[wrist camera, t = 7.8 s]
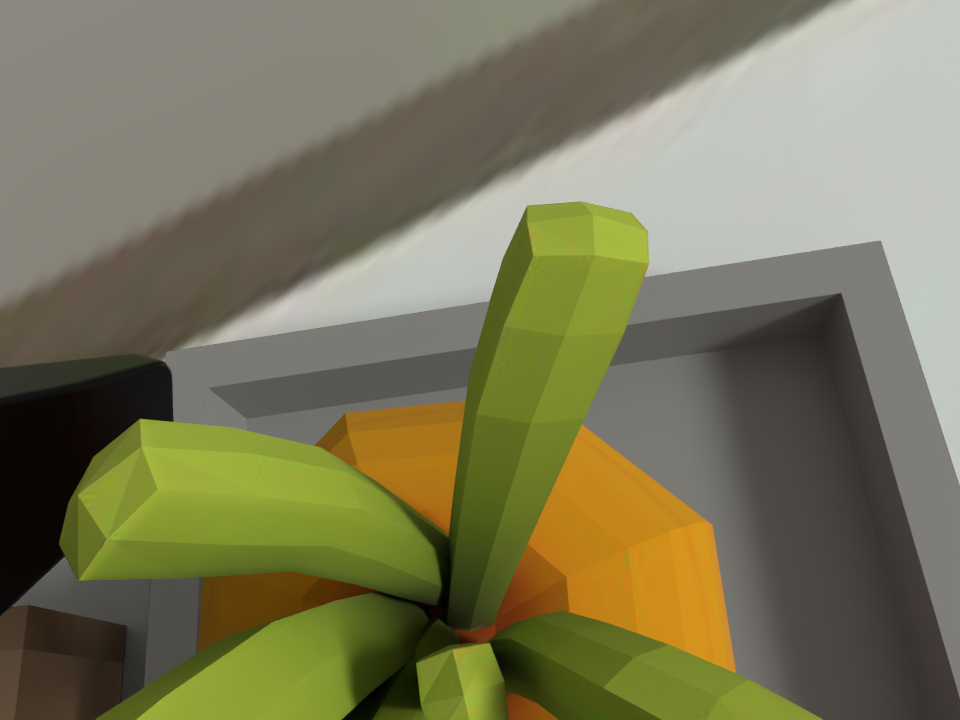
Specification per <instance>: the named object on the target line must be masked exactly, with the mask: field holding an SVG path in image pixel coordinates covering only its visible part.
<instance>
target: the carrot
mask: <svg viewBox="0 0 960 720" xmlns="http://www.w3.org/2000/svg"><path fill="white" fill-rule="evenodd" d="M648 265H649V251H648V231H647V230H646V229H645V228H644V226H643V225H642V224H641V223H640V222H639V221H638V220H637V219H636V217H635V216H634V215H633V214H632V213H629V212H625V211H620V210H616V209H611V208H607V207H603V206H598V205H594V204H589V203H585V202H570V203H556V204H543V205H529V206H527V208H526V210H525V212H524V214H523V216H522V218H521V221H520V223H519V225H518V227H517V229H516V232H515V234H514V236H513V238H512V240H511V242H510V245H509V247H508V249H507V251H506V253H505V255H504V258H503V260H502V263H501V266H500V270H499V273H498V276H497V279H496V283H495V286H494V289H493V292H492V296H491V299H490V303H489V306H488V310H487V313H486V317H485V320H484V324H483V327H482V331H481V335H480V338H479V342H478V345H477V349H476V352H475V356H474V359H473V363H472V366H471V370H470V373H469V379H468V387H467V394H466V401H456V402H446V403H436V404H427V405H417V406H407V407H397V408H387V409H378V410H368V411H358V412H348V413H345V414H344V415H343V416H342V417H341V418H340V419H339V420H338V421H337V422H336V423H335V424H334V425H333V426H332V427H331V429H330V430H329V431H328V432H327V433H326V434H325V435H324V436H323V437H322V438H321V439H320V440H319V441H318V442H317V443H316V444H315V446H312V445H308V444H304V443H299V442H295V441H290V440H286V439H281V438H277V437H273V436H268V435H264V434H259V433H255V432H251V431H246V430H242V429H237V428H233V427H223V426H212V425H201V424H191V423H180V422H169V421H158V420H147V419H139V420H138V421H137V422H135V423H134V424H133V425H132V426H131V427H129V428H128V429H127V430H126V431H124V432H123V433H122V434H121V435H120V436H118V437H117V438H116V439H115V440H114V441H112V442H111V443H110V444H109V445H107V446H106V447H105V448H104V449H103V450H101V451H100V452H99V453H98V454H97V455H95V456H94V457H93V459H92V461H91V463H90V464H89V466H88V468H87V470H86V472H85V473H84V475H83V477H82V479H81V481H80V483H79V484H78V486H77V488H76V490H75V492H74V493H73V495H72V497H71V499H70V501H69V503H68V507H67V511H66V516H65V520H64V524H63V528H62V533H61V537H60V541H59V545H60V547H61V549H62V551H63V553H64V555H65V556H66V558H67V560H68V562H69V564H70V566H71V568H72V569H73V571H74V573H75V575H76V577H77V579H78V581H87V580H132V579H177V578H199V577H203V587H202V600H201V614H200V628H199V642H198V653H197V654H195V655H193V656H192V657H190V658H189V659H187V660H186V661H184V662H183V663H181V664H180V665H178V666H176V667H175V668H173V669H172V670H170V671H169V672H167V673H166V674H164V675H163V676H161V677H160V678H158V679H156V680H155V681H153V682H152V683H150V684H149V685H147V686H146V687H144V688H143V689H141V690H139V691H138V692H136V693H135V694H133V695H132V696H130V697H129V698H127V699H126V700H124V701H122V702H121V703H119V704H118V705H116V706H115V707H113V708H112V709H110V710H109V711H107V712H106V713H104V714H102V715H101V716H99V717H98V718H97V719H96V720H822V718H820V717H818V716H816V715H814V714H812V713H811V712H809V711H807V710H805V709H803V708H801V707H800V706H798V705H796V704H794V703H792V702H790V701H789V700H787V699H785V698H783V697H781V696H779V695H778V694H776V693H774V692H772V691H770V690H768V689H767V688H765V687H763V686H761V685H759V684H757V683H756V682H754V681H752V680H750V679H748V678H746V677H743V676H741V675H739V674H736V669H735V662H734V656H733V650H732V644H731V637H730V631H729V625H728V619H727V612H726V606H725V600H724V594H723V587H722V581H721V575H720V569H719V562H718V556H717V550H716V544H715V537H714V531H713V525H712V524H711V523H710V522H708V521H707V520H706V519H705V518H703V517H702V516H701V515H699V514H698V513H697V512H695V511H694V510H693V509H692V508H690V507H689V506H688V505H686V504H685V503H684V502H683V501H681V500H680V499H679V498H677V497H676V496H675V495H673V494H672V493H671V492H670V491H668V490H667V489H666V488H664V487H663V486H662V485H660V484H659V483H658V482H657V481H655V480H654V479H653V478H651V477H650V476H649V475H647V474H646V473H645V472H644V471H642V470H641V469H640V468H638V467H637V466H636V465H635V464H633V463H632V462H631V461H629V460H628V459H627V458H625V457H624V456H623V455H622V454H620V453H619V452H618V451H616V450H615V449H614V448H612V447H611V446H610V445H609V444H607V443H606V442H605V441H603V440H602V439H601V438H599V437H598V436H597V435H596V434H594V433H593V432H592V431H590V430H589V429H588V428H587V427H585V426H584V425H583V424H582V423H583V421H584V419H585V416H586V414H587V412H588V410H589V408H590V406H591V403H592V401H593V399H594V397H595V395H596V393H597V391H598V388H599V386H600V384H601V382H602V380H603V378H604V375H605V373H606V371H607V369H608V367H609V365H610V363H611V360H612V358H613V356H614V354H615V352H616V350H617V348H618V345H619V343H620V341H621V339H622V337H623V335H624V332H625V329H626V327H627V324H628V321H629V318H630V315H631V313H632V310H633V307H634V304H635V301H636V299H637V296H638V293H639V290H640V287H641V284H642V282H643V279H644V276H645V273H646V270H647V268H648Z"/></svg>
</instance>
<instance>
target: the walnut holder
mask: <svg viewBox="0 0 960 720" xmlns="http://www.w3.org/2000/svg"><path fill="white" fill-rule="evenodd" d="M125 635H126V626H125V625H120V624H115V623H111V622H106V621H101V620H96V619H92V618H87V617H82V616H77V615H73V614H68V613H63V612H58V611H54V610H49V609H44V608H39V607H35V606H30V605H26V606H18V607H10V608H9V609H8V610H7V611H6V612H5V613H4V614H3V615H2V616H1V617H0V720H96V719H97V718H98V717H99V716H101V715H102V714H104V713H106V712H107V711H109V710H110V709H112V708H113V707H115V706H116V705H118V704H119V703H120V700H121V687H122V674H123V661H124V648H125Z"/></svg>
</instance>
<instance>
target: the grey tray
mask: <svg viewBox="0 0 960 720" xmlns="http://www.w3.org/2000/svg"><path fill="white" fill-rule="evenodd" d="M489 303H490V302H483V303H477V304H470V305H464V306H458V307H451V308H445V309H438V310H432V311H426V312H419V313H413V314H406V315H400V316H393V317H387V318H381V319H374V320H368V321H361V322H355V323H349V324H342V325H336V326H329V327H323V328H316V329H310V330H304V331H297V332H291V333H284V334H278V335H272V336H265V337H259V338H252V339H246V340H239V341H233V342H227V343H220V344H214V345H207V346H201V347H195V348H188V349H182V350H175V351H169V352H166V361H165V363H166V364H167V365H168V366H169V368H170V370H171V372H172V379H173V415H174V422H180V423H191V424H201V425H212V426H223V427H233V428H237V429H242V430H246V431H251V432H255V433H259V434H264V435H268V436H273V437H277V438H281V439H286V440H290V441H295V442H299V443H304V444H308V445H312V446H315V444H316V443H317V442H318V441H319V440H320V439H321V438H322V437H323V436H324V435H325V434H326V433H327V432H328V431H329V430H330V429H331V427H332V426H333V425H334V424H335V423H336V422H337V421H338V420H339V419H340V418H341V417H342V416H343V415H344V414H345V413H348V412H358V411H368V410H378V409H387V408H397V407H407V406H417V405H427V404H436V403H446V402H456V401H466V394H467V387H468V379H469V373H470V370H471V366H472V363H473V359H474V356H475V352H476V349H477V345H478V342H479V338H480V335H481V331H482V327H483V324H484V320H485V317H486V313H487V310H488V306H489ZM582 424H583V425H584V426H585V427H587V428H588V429H589V430H590V431H592V432H593V433H594V434H596V435H597V436H598V437H599V438H601V439H602V440H603V441H605V442H606V443H607V444H609V445H610V446H611V447H612V448H614V449H615V450H616V451H618V452H619V453H620V454H622V455H623V456H624V457H625V458H627V459H628V460H629V461H631V462H632V463H633V464H635V465H636V466H637V467H638V468H640V469H641V470H642V471H644V472H645V473H646V474H647V475H649V476H650V477H651V478H653V479H654V480H655V481H657V482H658V483H659V484H660V485H662V486H663V487H664V488H666V489H667V490H668V491H670V492H671V493H672V494H673V495H675V496H676V497H677V498H679V499H680V500H681V501H683V502H684V503H685V504H686V505H688V506H689V507H690V508H692V509H693V510H694V511H695V512H697V513H698V514H699V515H701V516H702V517H703V518H705V519H706V520H707V521H708V522H710V523H711V524H712V525H713V531H714V537H715V544H716V550H717V556H718V562H719V569H720V575H721V581H722V587H723V594H724V600H725V606H726V612H727V619H728V625H729V631H730V637H731V644H732V650H733V656H734V662H735V669H736V674H739V675H741V676H743V677H746V678H748V679H750V680H752V681H754V682H756V683H757V684H759V685H761V686H763V687H765V688H767V689H768V690H770V691H772V692H774V693H776V694H778V695H779V696H781V697H783V698H785V699H787V700H789V701H790V702H792V703H794V704H796V705H798V706H800V707H801V708H803V709H805V710H807V711H809V712H811V713H812V714H814V715H816V716H818V717H820V718H822V720H960V485H959V482H958V479H957V476H956V473H955V470H954V467H953V464H952V461H951V457H950V454H949V451H948V448H947V445H946V442H945V439H944V436H943V433H942V430H941V426H940V423H939V420H938V417H937V414H936V411H935V408H934V405H933V402H932V398H931V395H930V392H929V389H928V386H927V383H926V380H925V377H924V374H923V371H922V367H921V364H920V361H919V358H918V355H917V352H916V349H915V346H914V343H913V340H912V336H911V333H910V330H909V327H908V324H907V321H906V318H905V315H904V312H903V308H902V305H901V302H900V299H899V296H898V293H897V290H896V287H895V284H894V281H893V277H892V274H891V271H890V268H889V265H888V262H887V259H886V256H885V253H884V249H883V246H882V243H881V241H875V242H868V243H862V244H855V245H849V246H843V247H836V248H830V249H823V250H817V251H811V252H804V253H798V254H791V255H785V256H778V257H772V258H766V259H759V260H753V261H746V262H740V263H734V264H727V265H721V266H714V267H708V268H701V269H695V270H689V271H682V272H676V273H669V274H663V275H657V276H650V277H644V279H643V282H642V284H641V287H640V290H639V293H638V296H637V299H636V301H635V304H634V307H633V310H632V313H631V315H630V318H629V321H628V324H627V327H626V329H625V332H624V335H623V337H622V339H621V341H620V343H619V345H618V348H617V350H616V352H615V354H614V356H613V358H612V360H611V363H610V365H609V367H608V369H607V371H606V373H605V375H604V378H603V380H602V382H601V384H600V386H599V388H598V391H597V393H596V395H595V397H594V399H593V401H592V403H591V406H590V408H589V410H588V412H587V414H586V416H585V419H584V421H583V423H582ZM202 587H203V577H199V578H177V579H151V586H150V601H149V616H148V631H147V646H146V661H145V676H144V687H146V686H147V685H149V684H150V683H152V682H153V681H155V680H156V679H158V678H160V677H161V676H163V675H164V674H166V673H167V672H169V671H170V670H172V669H173V668H175V667H176V666H178V665H180V664H181V663H183V662H184V661H186V660H187V659H189V658H190V657H192V656H193V655H195V654H197V653H198V642H199V628H200V614H201V600H202Z"/></svg>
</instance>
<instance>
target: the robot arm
mask: <svg viewBox="0 0 960 720" xmlns="http://www.w3.org/2000/svg"><path fill="white" fill-rule="evenodd" d="M139 419H147V420H158V421H169V422H174V415H173V379H172V372H171V370H170V368H169V366H168V365H167V364H166V363H165V362H163V361H160V360H157V359H154V358H151V357H147V356H144V355H141V354H125V355H116V356H107V357H97V358H88V359H78V360H69V361H60V362H50V363H41V364H31V365H22V366H13V367H3V368H0V617H1V616H2V615H3V614H4V613H5V612H6V611H7V610H8V609H9V608H10V607H11V606H12V605H13V604H14V603H16V602H17V601H18V600H19V599H20V598H21V597H22V596H23V595H24V594H25V593H26V592H27V591H28V590H29V589H30V588H32V587H33V586H34V585H35V584H36V583H37V582H38V581H39V580H40V579H41V578H42V577H43V576H44V575H45V574H46V573H48V572H49V571H50V570H51V569H52V568H53V567H54V566H55V565H56V564H57V563H58V562H59V561H60V560H61V559H63V558H64V557H65V555H64V553H63V551H62V549H61V547H60V545H59V541H60V537H61V533H62V528H63V524H64V520H65V516H66V511H67V507H68V503H69V501H70V499H71V497H72V495H73V493H74V492H75V490H76V488H77V486H78V484H79V483H80V481H81V479H82V477H83V475H84V473H85V472H86V470H87V468H88V466H89V464H90V463H91V461H92V459H93V457H94V456H95V455H97V454H98V453H99V452H100V451H101V450H103V449H104V448H105V447H106V446H107V445H109V444H110V443H111V442H112V441H114V440H115V439H116V438H117V437H118V436H120V435H121V434H122V433H123V432H124V431H126V430H127V429H128V428H129V427H131V426H132V425H133V424H134V423H135V422H137V421H138V420H139Z"/></svg>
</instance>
